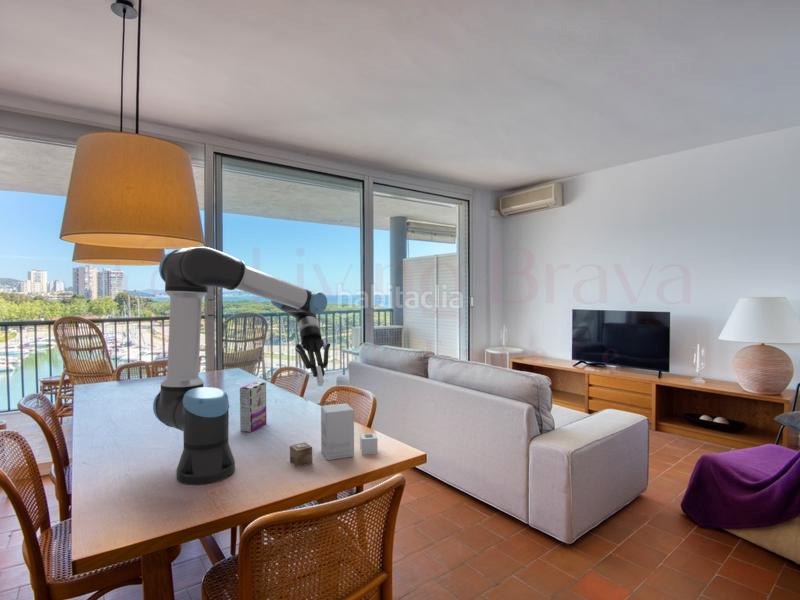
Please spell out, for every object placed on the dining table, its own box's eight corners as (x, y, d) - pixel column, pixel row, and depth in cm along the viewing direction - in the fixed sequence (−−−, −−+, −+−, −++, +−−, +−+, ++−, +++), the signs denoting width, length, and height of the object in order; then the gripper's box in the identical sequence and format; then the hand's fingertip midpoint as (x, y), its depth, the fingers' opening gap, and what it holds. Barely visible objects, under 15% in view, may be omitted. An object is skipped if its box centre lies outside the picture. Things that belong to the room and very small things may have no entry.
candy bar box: (255, 422, 168) (255, 381, 168) (266, 423, 167) (266, 381, 167) (239, 431, 157) (239, 387, 157) (251, 432, 156) (251, 388, 156)
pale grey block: (361, 454, 136) (361, 438, 136) (360, 449, 141) (360, 433, 141) (377, 453, 137) (377, 437, 137) (375, 448, 142) (375, 432, 142)
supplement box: (347, 447, 142) (347, 402, 142) (354, 456, 134) (354, 409, 134) (320, 450, 139) (320, 405, 139) (325, 460, 131) (326, 412, 130)
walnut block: (296, 467, 126) (296, 449, 126) (289, 461, 130) (289, 445, 130) (312, 463, 129) (312, 446, 129) (305, 458, 133) (305, 441, 133)
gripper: (324, 337, 167) (336, 388, 152) (290, 338, 161) (300, 391, 146) (328, 324, 162) (341, 376, 147) (294, 325, 156) (304, 378, 141)
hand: (321, 383), depth 146 cm, fingers closed
